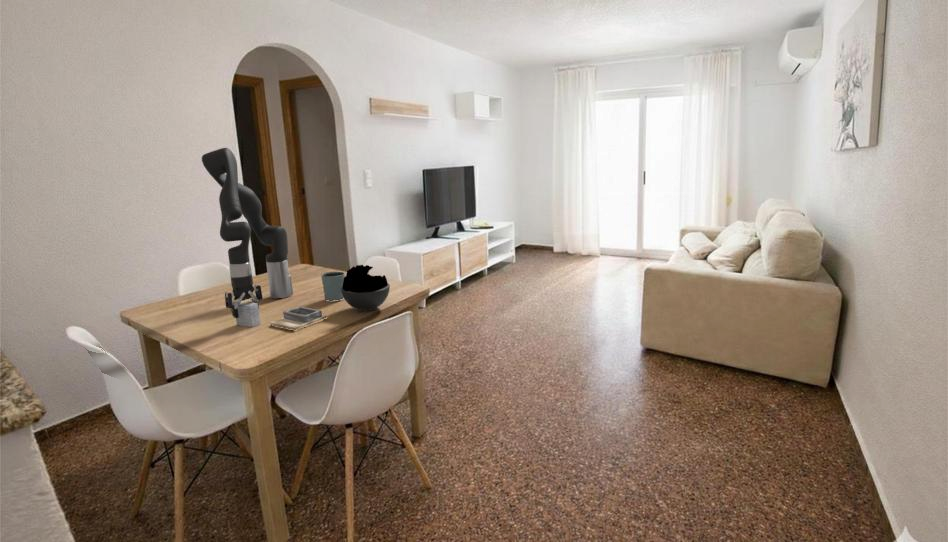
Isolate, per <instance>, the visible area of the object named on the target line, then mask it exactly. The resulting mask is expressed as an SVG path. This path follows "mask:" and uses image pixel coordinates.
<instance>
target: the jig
mask: <svg viewBox="0 0 948 542" xmlns="http://www.w3.org/2000/svg"><path fill="white" fill-rule="evenodd" d="M282 314H283V315H282V316H283V317H281V318H279V319H275V320H273V321H270V323H269V325H273V326H278V327H283V328H288V329H293V330H296V329H299V328H301V327H304V326H306V325H309V324H311V323H314V322H316V321H319V320H321V319H324V318H326V317H327V318H328V315H326V314H323V312H322V310H320V309H315V308H309V307H306V306H305V307H304V306H297V307H294V308H291V309H289V310H286V311H283V313H282ZM273 326H272V327H273Z"/></svg>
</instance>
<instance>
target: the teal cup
mask: <svg viewBox="0 0 948 542" xmlns="http://www.w3.org/2000/svg"><path fill="white" fill-rule="evenodd" d="M344 277H346V275H345V272H343V271H329V272H324V273H322V274H321V282H322V285H323V287H322V289H323V294H324V301H325V300H329V301H333V300H340V299H343V298H344V297H343V295H342V292H341V288H342V286H343V281H344Z"/></svg>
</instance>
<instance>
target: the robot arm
mask: <svg viewBox="0 0 948 542" xmlns="http://www.w3.org/2000/svg"><path fill="white" fill-rule="evenodd" d="M201 163H202V164H203V167H204V168H205V170H206V171H207V173H208V174H209V175H210V176H211V177H212V178H213V179H214V180H215V181H216V183H217V184H218V185H219V186H220V187H221V190H220V193H219V197H218V202H219V208H220V213H221V221H220V223H221V224H220V228H219V235H220V238H221V239H222V240H223V241H224V242H228V243H229V242H238V241H241V242H240V244H238V245H236V246H233V247H231V248H228V250H227V254H228V261H229V262H228V263H229V274H230V275H229V276H230V284H231V288H232V291H230V292H225V293H224V301H225V308H227V309H231V315H232V317H233V318H234V319H236V318H239V314H238V309H237V307H238V305H239V304H240V303H241V302H245V300H251V303H258V309H259V310H260V305H259V304H260V301H263V291H262V287H261V285H258V284H254V280H253V272H252V271H253V270H252V266H251V261H250V255H249V253H250V252H249V251H250V249H249V245H250V239H251V235H252V230H253V232H254V233H255V235H256V237H257V239H258V240H259V242H260V244H262V245H264V246H267V247H273V248H272V251H271V253H268V254H266V256H265V262H266V271H267V272H266V273H267V281H268V286H269V296H270V299H273V298H276V299H275V300H278V299H277V298H282V299H286V297H287V298H289V296H290V297H291V296H293V295H294V291H293V281H292V275H291V274H290V270H289V262H288V261H289V260H288V254H289V247H288V245H289V244H288V234H287V231H286V229H285V227H283V226H281V225H269V224H268V223H267V222H266V221H265V220H264V218H263V215H262V212H263V206H262V202H261V200H260V199H259V197H258V196H257V194H256V193H255V191H253V189H251V188H250V187H248V186H246V185H244V184H242V183H240V182H239V177H238V176H239V174H238V173H239V172H238V162H237V159H236V156H235V153H234V152H232V150H231V149H230V148H228V147H221V148H219V149H215V150H212V151H210V152H207V153H204V154H203V155H202V157H201ZM242 216H243V217H244V218H245V220H246V221H247V222H246V221H238V220H239V219H241V218H242ZM254 292H255V293H254ZM292 294H293V295H292Z"/></svg>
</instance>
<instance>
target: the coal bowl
mask: <svg viewBox="0 0 948 542" xmlns="http://www.w3.org/2000/svg"><path fill="white" fill-rule="evenodd" d="M373 268H374V267H373V266H370V265H368V264H366V265H364V264H358V265H356V266H354V265H353V266H352V267H350V268H349V269H348V270H347V271H346V275H345V277H344V281H343V286H342V288H341V292H342V295H343V297H344V301H345V302H346V303H347V304H348V305H349V306H351V307H352V308H354V309H355V310H360V311H371V310H370V309H372V310H374V308H375V309H376V308H379V307H380V306H381V305H383V303H384V302H386V300H387V298H388V296H389V293H390V287H391V286H390V284H389V283H388V280H387V277H386V275H371V274H369V272H370V271H371V270H372V269H373Z"/></svg>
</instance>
